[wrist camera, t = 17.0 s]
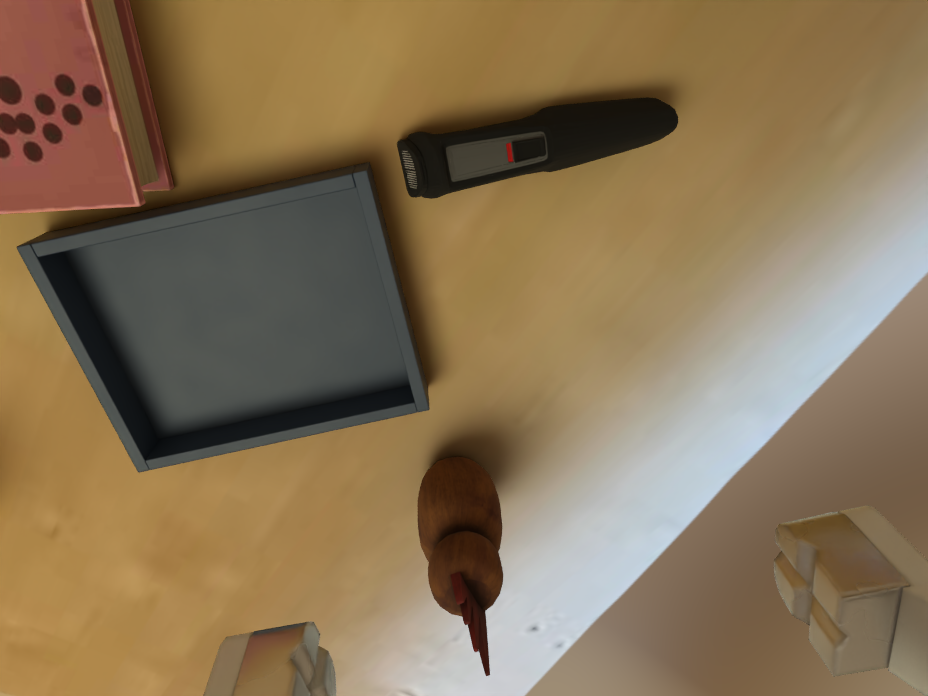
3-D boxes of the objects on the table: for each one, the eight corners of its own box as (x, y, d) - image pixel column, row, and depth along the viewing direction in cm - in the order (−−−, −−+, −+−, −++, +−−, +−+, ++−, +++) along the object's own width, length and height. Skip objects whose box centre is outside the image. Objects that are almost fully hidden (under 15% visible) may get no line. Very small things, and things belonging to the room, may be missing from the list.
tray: (369, 161, 36) (366, 170, 33) (428, 387, 42) (429, 410, 40) (45, 232, 36) (15, 247, 33) (155, 446, 42) (138, 472, 40)
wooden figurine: (493, 511, 48) (526, 690, 34) (419, 517, 47) (424, 700, 34) (492, 439, 45) (529, 604, 31) (414, 445, 44) (417, 614, 31)
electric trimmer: (658, 149, 37) (680, 156, 34) (408, 199, 37) (409, 210, 34) (656, 83, 35) (679, 84, 32) (394, 134, 35) (394, 140, 32)
